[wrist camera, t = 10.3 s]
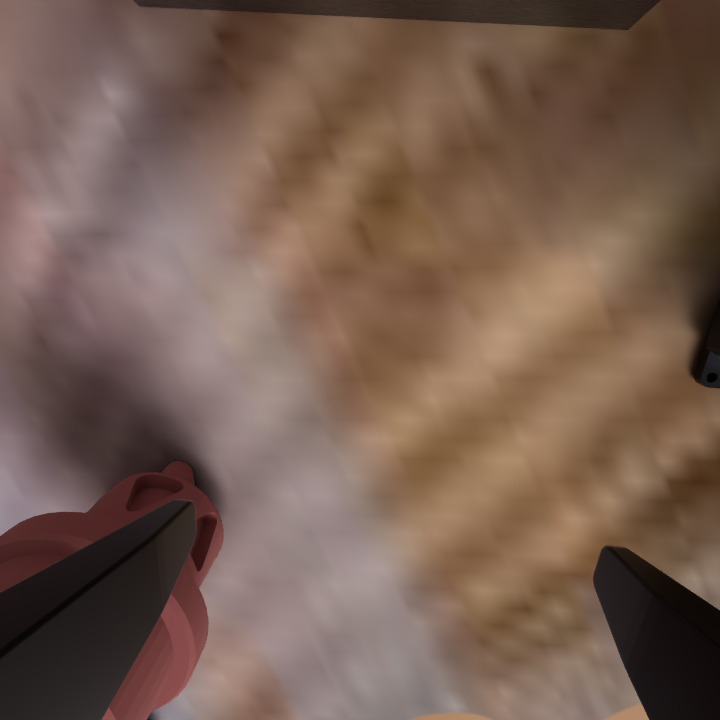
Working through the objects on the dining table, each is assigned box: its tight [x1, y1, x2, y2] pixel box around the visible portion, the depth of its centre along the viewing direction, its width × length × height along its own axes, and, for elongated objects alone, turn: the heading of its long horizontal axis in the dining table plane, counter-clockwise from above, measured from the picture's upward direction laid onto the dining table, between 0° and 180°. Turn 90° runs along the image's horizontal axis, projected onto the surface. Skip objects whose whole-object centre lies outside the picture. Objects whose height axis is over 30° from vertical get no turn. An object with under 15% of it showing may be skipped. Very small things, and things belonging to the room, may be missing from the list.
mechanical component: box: [0, 461, 223, 720], centre depth 17 cm, size 12×10×10 cm
